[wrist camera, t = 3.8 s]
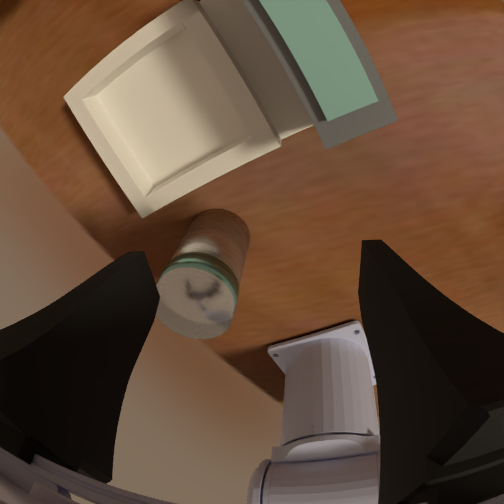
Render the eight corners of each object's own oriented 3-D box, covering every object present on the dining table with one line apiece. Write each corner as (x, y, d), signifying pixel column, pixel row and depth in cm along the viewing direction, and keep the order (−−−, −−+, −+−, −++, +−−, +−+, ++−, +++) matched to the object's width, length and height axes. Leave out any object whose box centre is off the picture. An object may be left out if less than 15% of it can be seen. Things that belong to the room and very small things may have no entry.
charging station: (367, 100, 15) (406, 120, 10) (155, 202, 20) (110, 257, 15) (288, -38, 11) (286, -86, 6) (84, 91, 16) (15, 112, 11)
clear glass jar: (262, 249, 21) (248, 328, 15) (210, 270, 22) (183, 346, 16) (230, 197, 19) (201, 264, 13) (177, 223, 20) (134, 292, 15)
